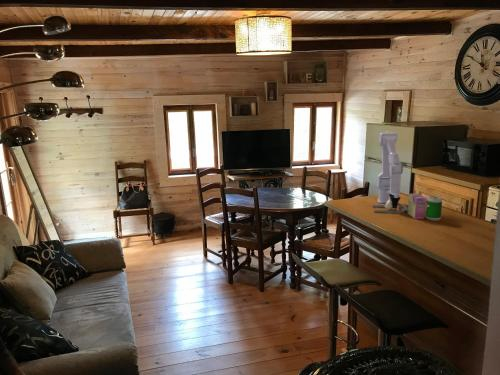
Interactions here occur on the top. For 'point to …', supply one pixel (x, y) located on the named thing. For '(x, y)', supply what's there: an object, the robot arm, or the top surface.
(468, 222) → the top surface
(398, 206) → the lane
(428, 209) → the soda can
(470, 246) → the top surface
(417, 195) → the box
